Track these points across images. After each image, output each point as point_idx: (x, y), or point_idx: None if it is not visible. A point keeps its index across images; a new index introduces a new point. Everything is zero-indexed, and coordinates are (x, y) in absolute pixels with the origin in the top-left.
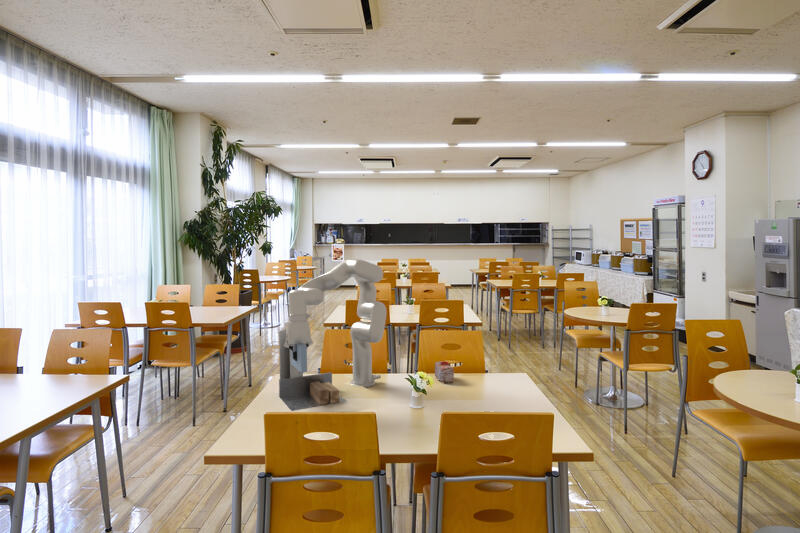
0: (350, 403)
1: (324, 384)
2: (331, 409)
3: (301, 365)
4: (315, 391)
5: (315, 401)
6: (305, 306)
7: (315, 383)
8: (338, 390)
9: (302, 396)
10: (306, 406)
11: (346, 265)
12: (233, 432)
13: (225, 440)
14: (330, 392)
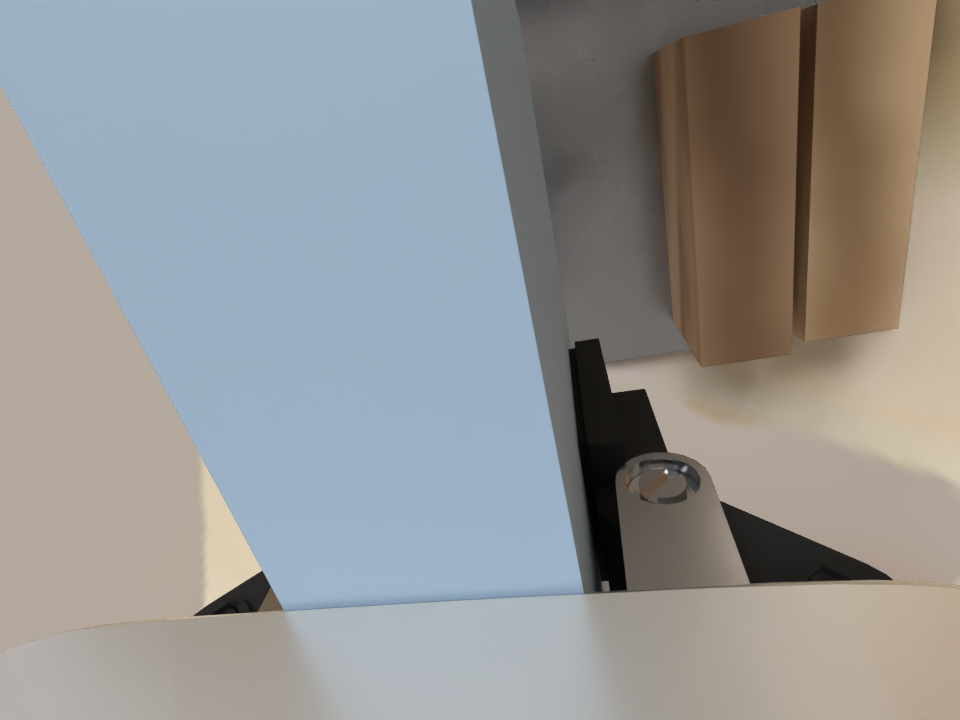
0: (912, 312)
1: (842, 76)
2: (729, 386)
3: None
4: (684, 237)
5: (658, 244)
6: None
7: (736, 96)
8: (886, 328)
9: (577, 63)
10: (572, 334)
11: None
12: (214, 520)
13: (209, 577)
14: (799, 332)
